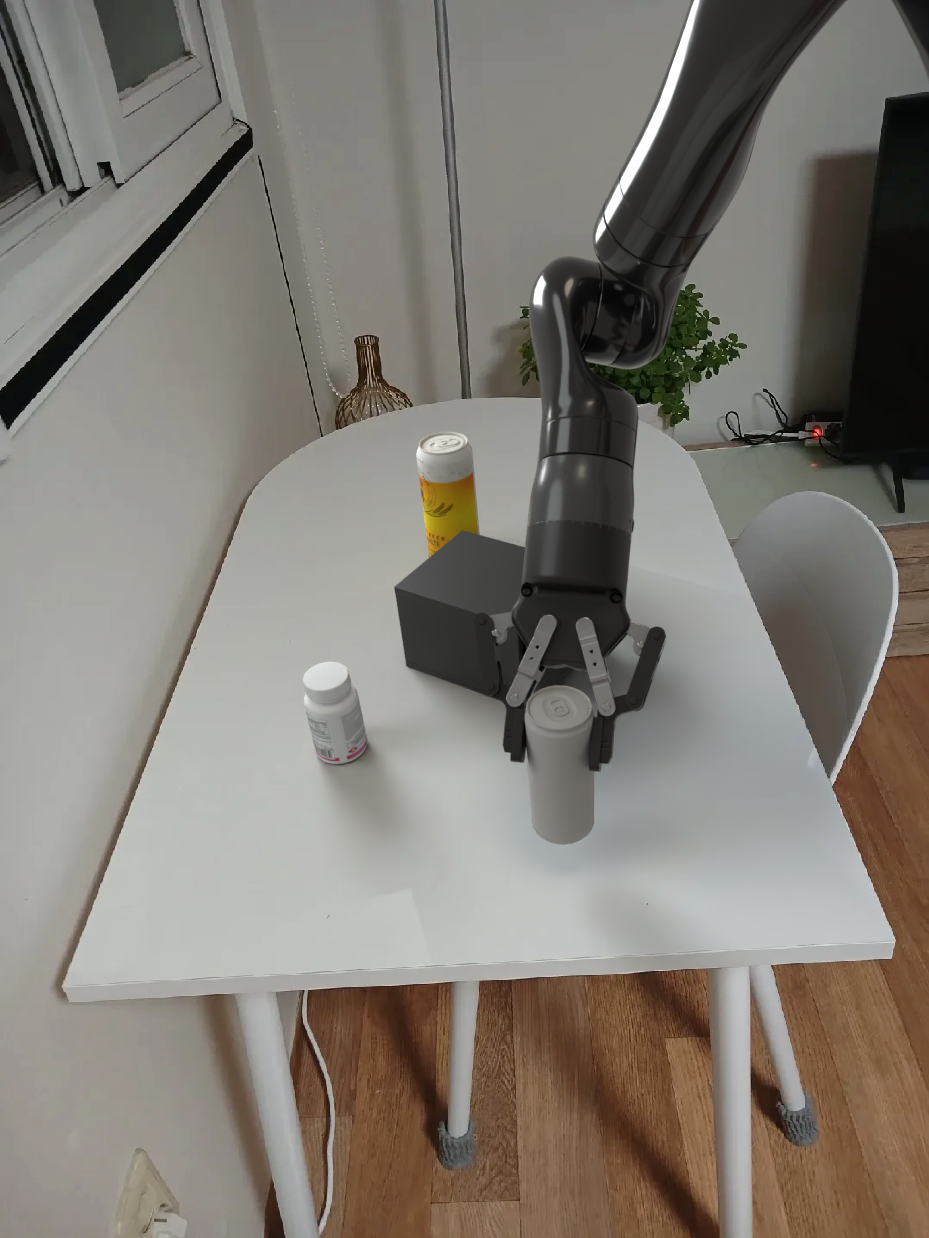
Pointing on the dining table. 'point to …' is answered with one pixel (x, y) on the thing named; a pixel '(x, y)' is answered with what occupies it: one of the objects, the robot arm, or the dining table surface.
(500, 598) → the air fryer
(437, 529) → the beer can
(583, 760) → the beverage can
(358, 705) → the pill bottle
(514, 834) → the dining table surface
